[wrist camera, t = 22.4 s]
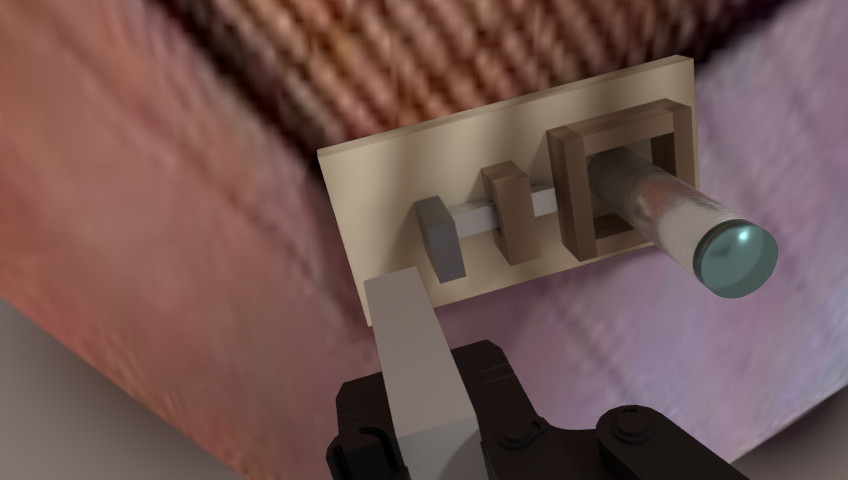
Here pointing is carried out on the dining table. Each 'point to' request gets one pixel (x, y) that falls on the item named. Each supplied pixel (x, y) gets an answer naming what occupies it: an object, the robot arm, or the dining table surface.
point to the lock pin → (466, 226)
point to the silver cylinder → (685, 223)
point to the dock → (456, 179)
